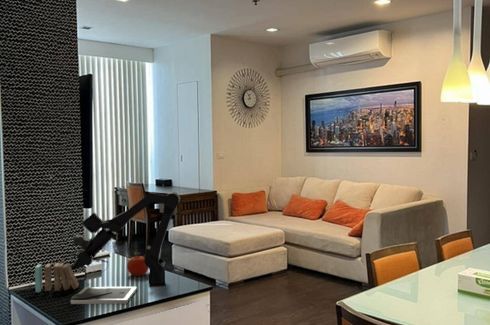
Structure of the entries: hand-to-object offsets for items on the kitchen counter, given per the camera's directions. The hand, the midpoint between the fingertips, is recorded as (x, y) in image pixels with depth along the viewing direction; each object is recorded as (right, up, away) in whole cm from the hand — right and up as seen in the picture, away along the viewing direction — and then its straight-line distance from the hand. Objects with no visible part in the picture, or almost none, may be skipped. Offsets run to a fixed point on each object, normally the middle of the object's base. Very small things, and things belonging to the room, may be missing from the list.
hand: (72, 269), depth 192 cm
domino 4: (-2, -8, 0) cm, 8 cm away
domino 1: (-12, -8, -2) cm, 15 cm away
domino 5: (+2, -7, +1) cm, 8 cm away
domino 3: (-5, -8, -1) cm, 10 cm away
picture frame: (+17, -9, -11) cm, 22 cm away
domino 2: (-9, -8, -2) cm, 12 cm away
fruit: (+23, -7, +19) cm, 30 cm away
